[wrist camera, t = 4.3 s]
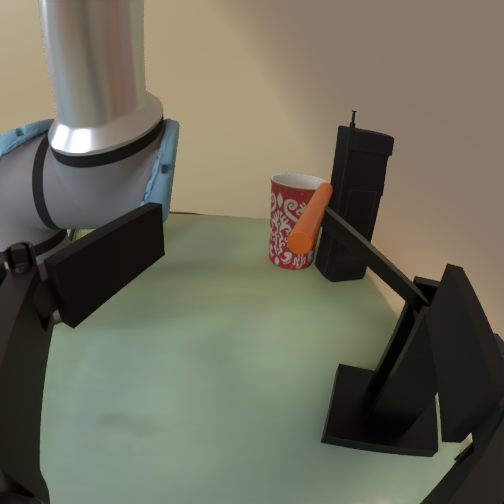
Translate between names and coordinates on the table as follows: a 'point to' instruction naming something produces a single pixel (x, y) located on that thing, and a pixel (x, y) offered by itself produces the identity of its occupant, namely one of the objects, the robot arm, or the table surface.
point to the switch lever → (351, 246)
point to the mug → (289, 216)
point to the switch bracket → (390, 393)
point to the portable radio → (354, 196)
